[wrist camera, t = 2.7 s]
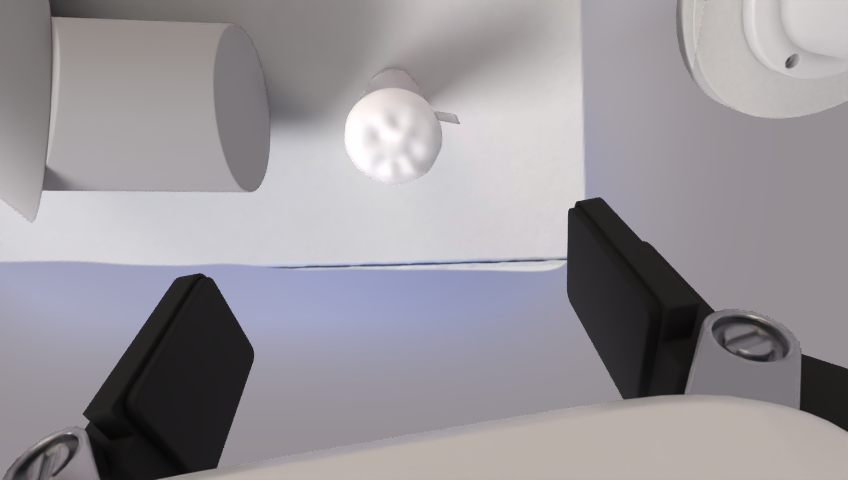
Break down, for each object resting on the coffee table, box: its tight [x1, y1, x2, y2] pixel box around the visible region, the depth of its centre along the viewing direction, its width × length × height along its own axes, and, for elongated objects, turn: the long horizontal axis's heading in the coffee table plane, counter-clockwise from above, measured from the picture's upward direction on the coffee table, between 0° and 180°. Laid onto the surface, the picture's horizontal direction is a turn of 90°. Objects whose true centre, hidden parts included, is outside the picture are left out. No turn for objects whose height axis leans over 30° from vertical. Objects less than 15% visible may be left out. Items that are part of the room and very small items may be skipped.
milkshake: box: [345, 68, 460, 185], centre depth 22 cm, size 4×5×10 cm
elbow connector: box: [0, 0, 270, 223], centre depth 19 cm, size 18×11×20 cm
